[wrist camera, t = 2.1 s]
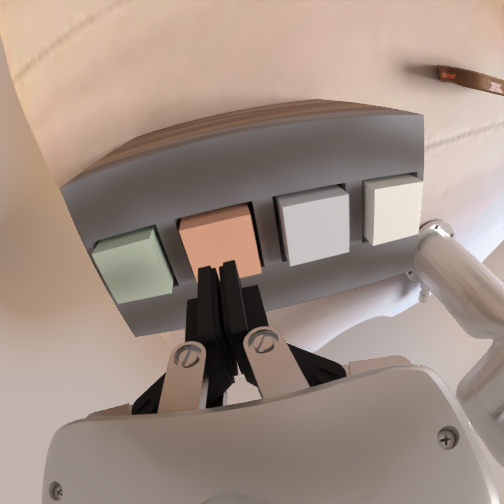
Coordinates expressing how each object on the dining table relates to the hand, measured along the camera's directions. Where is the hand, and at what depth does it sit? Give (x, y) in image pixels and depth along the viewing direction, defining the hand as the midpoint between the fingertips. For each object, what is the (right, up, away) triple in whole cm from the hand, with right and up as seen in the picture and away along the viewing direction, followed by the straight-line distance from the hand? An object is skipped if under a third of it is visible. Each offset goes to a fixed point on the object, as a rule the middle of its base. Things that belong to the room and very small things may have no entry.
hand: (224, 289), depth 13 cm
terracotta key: (-1, +3, +5) cm, 6 cm away
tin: (+34, +29, +16) cm, 47 cm away
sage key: (-6, +2, +5) cm, 8 cm away
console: (0, +13, +20) cm, 23 cm away
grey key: (+5, +4, +5) cm, 8 cm away
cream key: (+10, +5, +5) cm, 12 cm away
